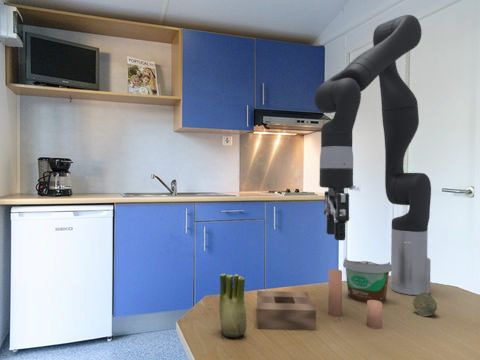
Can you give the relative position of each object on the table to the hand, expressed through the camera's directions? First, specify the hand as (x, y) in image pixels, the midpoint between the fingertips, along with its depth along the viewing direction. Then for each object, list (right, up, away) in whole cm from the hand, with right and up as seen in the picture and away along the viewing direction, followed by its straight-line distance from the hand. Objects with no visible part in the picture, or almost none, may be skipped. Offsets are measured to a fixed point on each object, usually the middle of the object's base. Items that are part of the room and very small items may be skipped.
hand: (335, 237), depth 82 cm
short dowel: (+7, -18, -6) cm, 20 cm away
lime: (+21, -18, 0) cm, 28 cm away
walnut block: (-12, -18, -3) cm, 22 cm away
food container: (+10, -18, +10) cm, 23 cm away
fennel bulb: (-23, -18, -11) cm, 32 cm away
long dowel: (0, -18, 0) cm, 18 cm away
